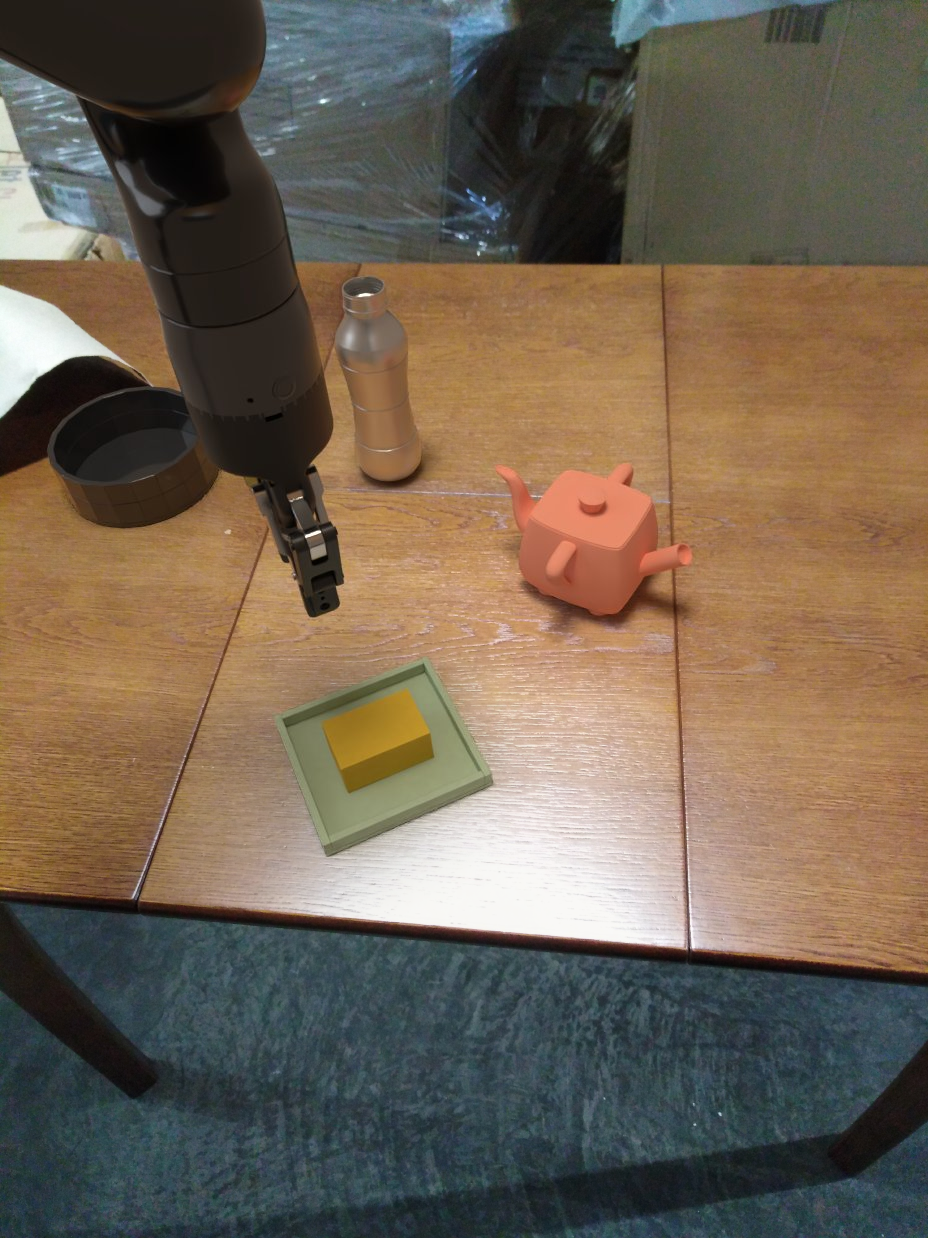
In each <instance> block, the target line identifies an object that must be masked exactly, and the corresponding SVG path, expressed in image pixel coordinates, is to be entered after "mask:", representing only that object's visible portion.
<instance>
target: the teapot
mask: <svg viewBox="0 0 928 1238" xmlns="http://www.w3.org/2000/svg"><path fill="white" fill-rule="evenodd" d="M494 470H495V471H496V473H497V474H498V475H499V476H500V477H501V478H502V479H503V480H504V481H505V483H506V484H507V485H506V486H508V489H509V492H510V496H511V504H512V512H513V518H514V522H515V524H516V527H517V528H518V529H519V531H520V532H521V533H522V537H521V542H520V546H519V553H518V566H519V570H520V572H521V575H522V577H523V578H524V579H525V581H526V582H527V583H529V584H530V585H532V586H534V587H535V588H537V590H538V592H539V593H541V594H542V595H544V596H553V597H555V598H557V599H559V600H561V601H563V602H566V603H568V604H571V605H575V606H577V607H580V608H584V609H587V610H588V612H589V613H590V614H591V615H595V616H598V617H602V616H603V617H604V616H606V615H608V614H609V615H615V614H618V613H619V612H620V611H622V610H623V608H624V607H625V605H626V604H627V603H628V602H629V600H630V598H632V596H633V595H634V593H635V592H636V590H637V588H638V587H639V585H640V584H641V583H642V581H643V580H644V578H645V577H647V576H651V575H656V574H659V573H662V572H667V571H671V570H674V569H679V568H683V567H687V566H690V565H691V564H692V561H693V552H692V550H691V548H690V546H689V545H688V544H687V543H685V542H680V543H677V544H674V545H671V546H667V547H663V548H660V549H658V544H659V542H658V541H659V526H658V518H657V512H656V507H655V503H654V500H653V499H652V497H650V496H649V495H647V494H645V493H643V492H641V491H639V490H637V489H635V488H633V487H631V486H632V482H633V478H634V473H635V472H634V471H635V470H634V466H632V465H631V464H630V463H627V462H623V463H620V464H618V465H616V467H615V468H614V469H613V470H612V471H611V473H610V474H609V475H608V476H607V477H603V476H600V475H596V474H593V473H588V472H585V471H584V472H583V471H579V470H573V469H566V470H564V471H563V472H561V473H560V475H558V477H556V479H555V480H554V481H553V482H552V484H551V485H550V486H549V487H548V489H547V490H546V491H545V493H544V494H543V495H542V496H541V497H540V499H539V500H538V502H537V503H536V501H535V500H534V499H533V497H532V496H531V494H530V492H529V490H528V488H527V486H526V484H525V481H524V480H523V478H522V477H521V476H520V475H519V473H517V471H515V470H513V469H512V468H510V467H508V466H506V465H501V464H496V465H495V466H494Z"/></svg>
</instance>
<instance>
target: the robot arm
mask: <svg viewBox="0 0 928 1238" xmlns="http://www.w3.org/2000/svg"><path fill="white" fill-rule="evenodd" d="M262 2H263V1H262V0H0V60H2V61H4V62H6V63H8V64H9V65H12V66H15V67H16V68H18V69H20V70H23V71H25V72H26V73H29V74H31V75H32V76H35V77H37V78H39V79H41V80H43V81H45V82H47V83H50V84H52V85H54V86H55V87H58V88H60V89H61V90H64V91H66V92H69V93H71V94H73V95H75V97H76V101H77V102H78V104H79V107H80V109H81V111H82V113H83V115H84V117H85V120H86V122H87V124H88V126H89V128H90V131H91V133H92V135H93V137H94V139H95V142H96V144H97V146H98V148H99V150H100V153H101V155H102V157H103V159H104V161H105V163H106V164H107V167H108V169H109V171H110V173H111V175H112V177H113V180H114V182H115V185H116V188H117V190H118V193H119V196H120V198H121V201H122V204H123V208H124V210H125V214H126V217H127V222H128V225H129V228H130V233H131V236H132V239H133V243H134V246H135V249H136V252H137V254H138V257H139V261H140V263H141V267H142V270H143V272H144V276H145V278H146V280H147V283H148V285H149V289H150V291H151V294H152V298H153V300H154V303H155V306H156V310H157V312H158V316H159V321H160V326H161V332H162V337H163V341H164V345H165V349H166V352H167V355H168V358H169V361H170V364H171V367H172V370H173V372H174V375H175V379H176V381H177V383H178V386H179V390H180V392H182V395H183V398H184V401H185V403H186V406H187V409H188V412H189V414H190V417H191V420H192V423H193V426H194V428H195V431H196V434H197V437H198V440H199V442H200V445H201V448H202V451H203V453H204V454H205V456H206V457H207V459H208V460H209V461H210V462H211V463H212V464H213V465H214V466H216V467H217V468H218V470H221V471H223V472H224V473H227V474H229V475H233V476H236V477H241V478H243V480H244V482H245V485H246V486H247V487H248V490H249V493H250V495H251V497H252V499H253V502H254V503H255V507H257V509H258V511H259V512H260V513H261V515H262V517H264V519H265V520H266V525H267V527H268V531H269V532H270V533H269V534H270V536H271V538H272V541H273V545H274V546H275V548H276V549H277V552H278V555H279V557H280V559H281V561H282V562H283V563H284V564H289V565H290V568H291V570H292V572H291V576H292V579H293V581H294V582H295V581H296V583H297V586H298V590H299V593H300V597H301V599H302V603H303V607H304V610H305V612H306V614H307V615H308V617H309V618H312V619H313V618H318V617H320V616H323V615H325V614H329V613H331V612H333V611H335V610H337V609H339V607H340V605H341V601H340V597H339V593H338V590H337V587H339V586H342V585H344V584H345V580H344V579H345V574H344V572H343V565H342V558H341V557H342V556H341V551H340V544H339V538H338V535H339V532H338V529H337V527H336V526H335V525H334V524H333V522H332V521H331V520H329V516H328V513H327V510H326V507H325V504H324V501H323V500H324V499H323V494H324V491H325V490H324V487H323V483H322V479H321V476H320V473H319V470H318V469H317V466H316V465H315V464H314V463H313V461H315V459H316V458H317V457H318V456H319V455H320V454H321V453H322V452H323V451H324V450H325V448H326V447H327V445H328V444H329V442H330V440H331V438H332V437H333V436H332V435H333V432H334V423H335V422H334V417H333V410H332V406H331V401H330V396H329V392H328V391H329V390H328V387H327V382H326V378H325V373H324V368H323V363H322V359H321V353H320V349H319V344H318V340H317V334H316V329H315V325H314V320H313V317H312V313H311V310H310V307H309V304H308V302H307V299H306V296H305V294H304V290H303V288H302V285H301V281H300V277H299V273H298V268H297V264H296V259H295V254H294V250H293V245H292V241H291V237H290V231H289V226H288V220H287V216H286V213H285V208H284V205H283V200H282V198H281V194H280V191H279V189H278V186H277V183H276V181H275V178H274V175H273V174H272V172H271V171H270V169H269V167H268V165H267V164H266V163H265V161H264V159H263V158H262V156H261V155H260V153H259V152H258V151H257V149H256V147H255V146H254V144H253V142H252V140H251V138H250V137H249V135H248V132H247V130H246V127H245V124H244V122H243V121H244V120H243V118H242V114H241V111H240V106H241V105H242V104H243V103H244V102H245V101H246V99H247V98H248V97H249V96H250V94H251V93H252V92H253V90H254V88H255V87H256V85H257V82H258V80H259V78H260V76H261V72H262V70H263V66H264V63H265V59H266V51H267V40H268V39H267V38H268V37H267V36H268V35H267V23H266V17H265V10H264V7H263V3H262ZM314 516H315V517H314Z"/></svg>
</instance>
